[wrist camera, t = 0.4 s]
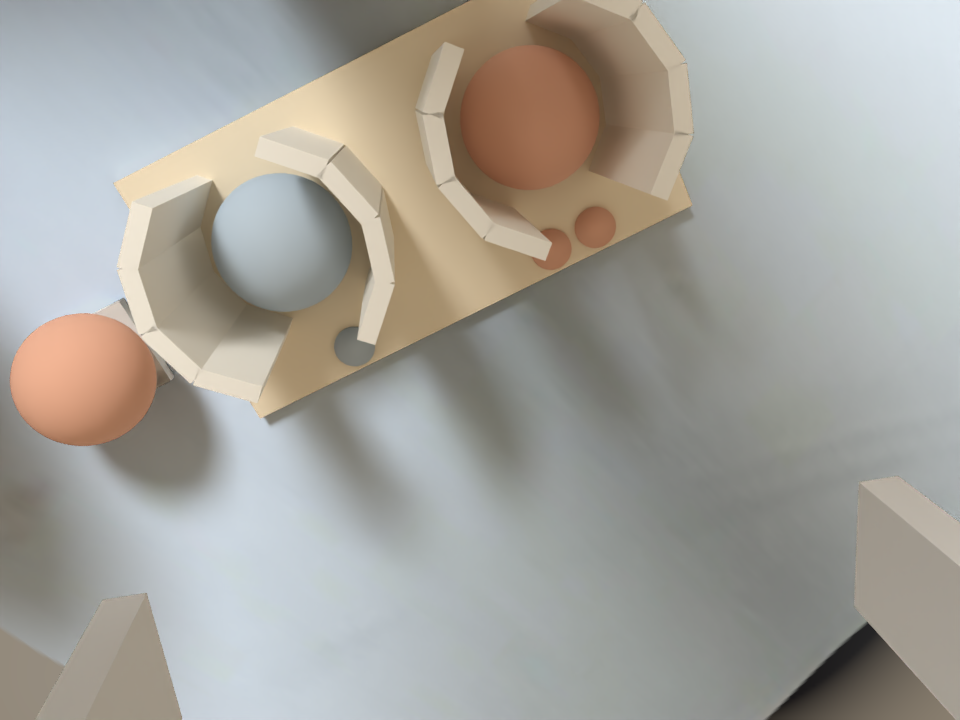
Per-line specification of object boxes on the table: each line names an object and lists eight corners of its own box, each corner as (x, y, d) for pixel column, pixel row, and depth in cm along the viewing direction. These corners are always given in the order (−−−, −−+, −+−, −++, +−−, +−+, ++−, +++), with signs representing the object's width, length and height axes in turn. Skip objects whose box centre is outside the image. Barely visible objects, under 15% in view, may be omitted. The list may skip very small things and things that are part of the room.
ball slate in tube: (201, 203, 38) (167, 222, 33) (316, 144, 38) (302, 153, 32) (267, 315, 40) (246, 351, 34) (377, 260, 40) (375, 287, 34)
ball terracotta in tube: (432, 85, 38) (439, 83, 32) (551, 25, 37) (580, 12, 32) (489, 204, 40) (505, 222, 34) (602, 148, 39) (637, 156, 34)
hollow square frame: (41, 338, 40) (35, 342, 39) (123, 297, 40) (118, 301, 39) (95, 415, 41) (90, 420, 41) (174, 376, 41) (170, 380, 41)
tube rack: (117, 181, 38) (18, 212, 28) (586, -59, 37) (658, -117, 27) (262, 414, 42) (221, 513, 32) (688, 203, 41) (783, 238, 31)
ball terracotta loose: (16, 334, 40) (-47, 374, 34) (126, 278, 39) (81, 309, 34) (89, 436, 41) (41, 490, 36) (194, 383, 41) (163, 430, 35)
